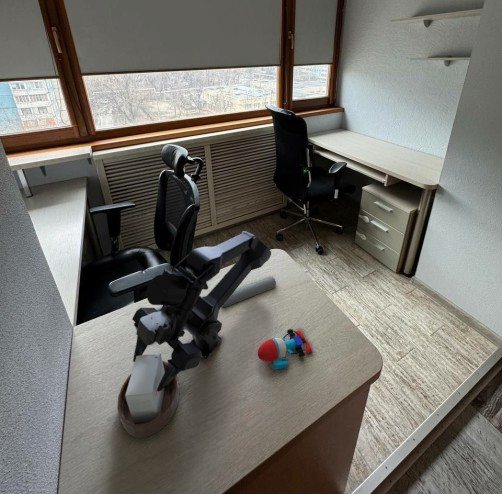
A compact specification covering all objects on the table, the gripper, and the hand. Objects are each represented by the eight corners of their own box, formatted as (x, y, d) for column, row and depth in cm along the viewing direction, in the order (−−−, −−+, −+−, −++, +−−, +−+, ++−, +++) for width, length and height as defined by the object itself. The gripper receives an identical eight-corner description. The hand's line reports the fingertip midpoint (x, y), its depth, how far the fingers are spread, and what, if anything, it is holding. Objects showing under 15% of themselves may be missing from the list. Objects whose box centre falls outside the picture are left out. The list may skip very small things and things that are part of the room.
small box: (143, 382, 65) (136, 354, 61) (167, 379, 66) (161, 352, 62) (133, 424, 58) (123, 396, 54) (159, 421, 58) (152, 393, 54)
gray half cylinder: (218, 297, 88) (218, 293, 87) (271, 277, 95) (271, 274, 95) (222, 308, 84) (222, 304, 84) (277, 286, 92) (277, 282, 91)
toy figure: (297, 332, 78) (251, 346, 72) (301, 320, 77) (254, 334, 70) (312, 359, 72) (262, 377, 66) (317, 347, 70) (266, 365, 64)
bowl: (190, 393, 64) (188, 381, 62) (144, 454, 54) (140, 443, 52) (156, 361, 70) (154, 349, 68) (110, 410, 61) (105, 399, 59)
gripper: (133, 282, 62) (94, 352, 58) (186, 330, 51) (142, 421, 47) (166, 285, 70) (134, 347, 67) (217, 327, 60) (182, 403, 56)
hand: (146, 375), depth 59 cm, fingers open, 9 cm apart
